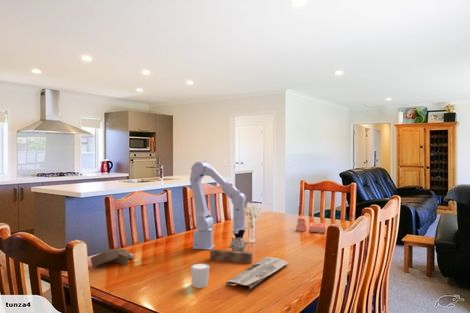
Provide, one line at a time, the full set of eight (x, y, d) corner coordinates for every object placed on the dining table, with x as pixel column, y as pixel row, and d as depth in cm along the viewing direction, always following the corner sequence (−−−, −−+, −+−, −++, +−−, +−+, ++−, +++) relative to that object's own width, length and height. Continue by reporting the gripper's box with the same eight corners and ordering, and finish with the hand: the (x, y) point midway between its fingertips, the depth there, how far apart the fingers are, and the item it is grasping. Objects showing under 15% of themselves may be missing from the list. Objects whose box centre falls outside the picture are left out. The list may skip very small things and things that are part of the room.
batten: (210, 259, 156) (210, 251, 156) (211, 258, 158) (211, 249, 158) (251, 263, 151) (251, 254, 151) (252, 261, 153) (252, 252, 153)
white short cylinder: (191, 281, 130) (191, 263, 130) (209, 281, 130) (209, 262, 130) (190, 289, 123) (190, 269, 123) (209, 288, 123) (209, 269, 123)
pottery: (325, 230, 215) (325, 214, 214) (325, 233, 206) (325, 217, 205) (296, 228, 220) (296, 213, 220) (295, 231, 211) (295, 215, 211)
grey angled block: (139, 267, 155) (107, 274, 139) (119, 259, 162) (86, 264, 146) (142, 251, 155) (111, 255, 140) (122, 243, 162) (90, 247, 146)
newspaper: (264, 260, 156) (264, 253, 156) (290, 265, 150) (290, 257, 150) (223, 287, 125) (223, 278, 125) (254, 294, 119) (254, 284, 119)
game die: (241, 261, 164) (246, 248, 158) (225, 255, 165) (229, 242, 159) (245, 247, 171) (250, 234, 166) (230, 242, 172) (234, 229, 166)
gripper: (243, 220, 161) (244, 249, 162) (249, 215, 175) (249, 241, 176) (229, 220, 163) (229, 248, 163) (236, 214, 177) (236, 240, 177)
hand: (239, 244), depth 170 cm, fingers closed, pressing on game die
